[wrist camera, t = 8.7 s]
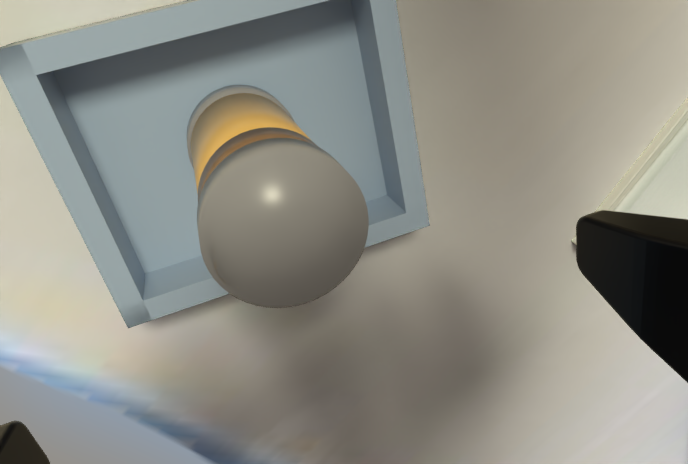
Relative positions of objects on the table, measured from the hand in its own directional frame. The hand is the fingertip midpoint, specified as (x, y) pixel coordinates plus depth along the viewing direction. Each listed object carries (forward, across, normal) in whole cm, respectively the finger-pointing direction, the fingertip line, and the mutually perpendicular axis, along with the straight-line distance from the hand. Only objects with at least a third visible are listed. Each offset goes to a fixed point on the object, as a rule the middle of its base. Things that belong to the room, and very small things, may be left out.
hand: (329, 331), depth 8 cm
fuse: (+11, 0, 0) cm, 11 cm away
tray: (+12, 0, 0) cm, 12 cm away
